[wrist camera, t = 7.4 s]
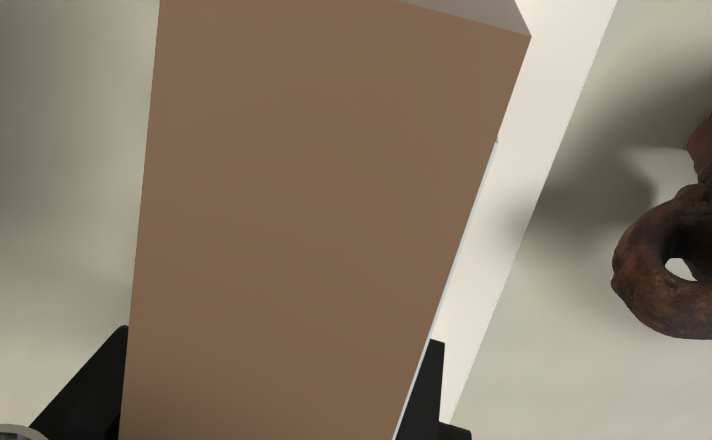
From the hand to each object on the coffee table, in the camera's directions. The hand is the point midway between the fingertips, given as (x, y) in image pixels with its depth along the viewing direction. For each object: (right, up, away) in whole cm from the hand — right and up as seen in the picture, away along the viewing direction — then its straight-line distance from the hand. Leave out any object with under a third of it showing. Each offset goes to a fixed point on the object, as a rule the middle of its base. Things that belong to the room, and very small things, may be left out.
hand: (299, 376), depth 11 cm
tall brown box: (0, 0, 0) cm, 1 cm away
